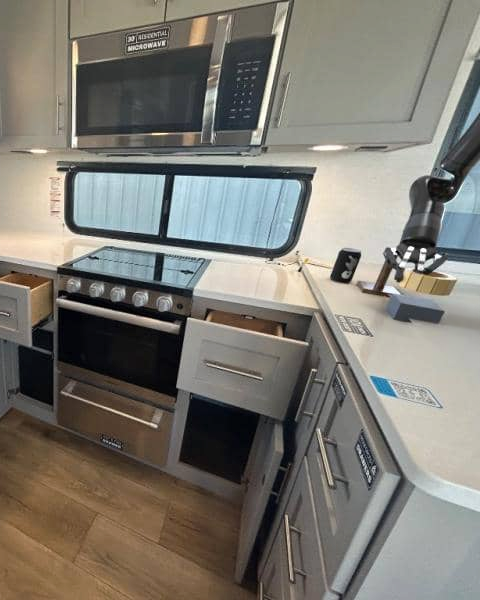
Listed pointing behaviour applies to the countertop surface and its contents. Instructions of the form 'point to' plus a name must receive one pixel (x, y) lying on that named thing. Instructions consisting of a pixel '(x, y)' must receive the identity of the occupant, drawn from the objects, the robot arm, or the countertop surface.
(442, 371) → the countertop surface
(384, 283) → the stand
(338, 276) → the black printed box
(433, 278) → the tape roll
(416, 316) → the block
